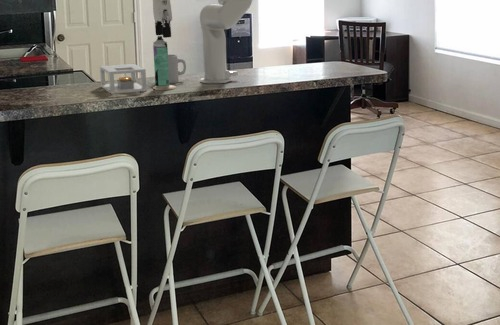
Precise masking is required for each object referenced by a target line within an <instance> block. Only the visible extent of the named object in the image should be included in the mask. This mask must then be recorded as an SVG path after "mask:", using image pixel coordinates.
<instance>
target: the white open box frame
mask: <svg viewBox="0 0 500 325" xmlns="http://www.w3.org/2000/svg"><path fill="white" fill-rule="evenodd" d="M146 71H147V70H146V69H145V68H144V67H141V66H140V65H138V64H135V63H128V64H127V63H126V64H112V65H99V73H100V74H99V75H100V88H102V89H103V90H105V91H106V92H108V93H109V94H110V93H111V94H110V95H115V94H125V93H126V94H128V93H138V92H140V91H141V92H147V89H148V88H147V75H146V74H147V72H146ZM106 73H107V74H108V77H109V78H108V82H109V83H106ZM136 73H140V80H141V84H139V83H138V82H137V80H136ZM120 74H122V75H123V74H130V77H131V78H132V80H131V81H119V79H117V81H116V82H117V83H115V75H120ZM141 92H140V93H141Z"/></svg>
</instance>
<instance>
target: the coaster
mask: <svg viewBox="0 0 500 325" xmlns="http://www.w3.org/2000/svg"><path fill="white" fill-rule="evenodd" d="M176 88H177V86H176V85H172V84H169V87H167V88H156V86H153V87H152V89H153V90H154V89H155V90H154V91H171V90H175V89H176Z"/></svg>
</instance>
